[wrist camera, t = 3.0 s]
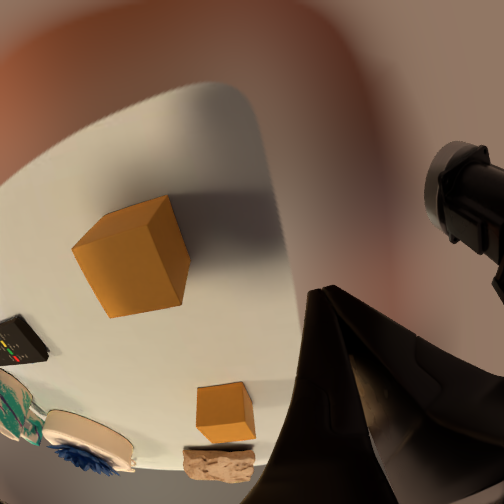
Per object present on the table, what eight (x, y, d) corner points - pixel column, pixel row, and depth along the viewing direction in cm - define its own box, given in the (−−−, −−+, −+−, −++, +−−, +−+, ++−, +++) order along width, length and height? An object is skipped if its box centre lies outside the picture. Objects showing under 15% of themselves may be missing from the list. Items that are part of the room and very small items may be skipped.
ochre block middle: (197, 387, 24) (195, 427, 20) (242, 381, 24) (245, 422, 20) (211, 408, 26) (212, 443, 22) (252, 402, 26) (256, 438, 22)
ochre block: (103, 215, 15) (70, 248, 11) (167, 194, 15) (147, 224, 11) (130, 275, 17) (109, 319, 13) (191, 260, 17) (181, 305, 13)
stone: (241, 461, 36) (243, 485, 32) (177, 452, 33) (176, 478, 29) (267, 445, 33) (271, 473, 29) (193, 435, 30) (193, 466, 25)
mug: (7, 369, 22) (-12, 414, 15) (58, 416, 28) (47, 458, 21) (-14, 368, 22) (-32, 406, 15) (31, 412, 28) (20, 448, 21)
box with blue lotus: (21, 437, 21) (97, 482, 31) (81, 453, 20) (161, 493, 30) (32, 406, 27) (101, 456, 37) (91, 412, 26) (163, 461, 36)
